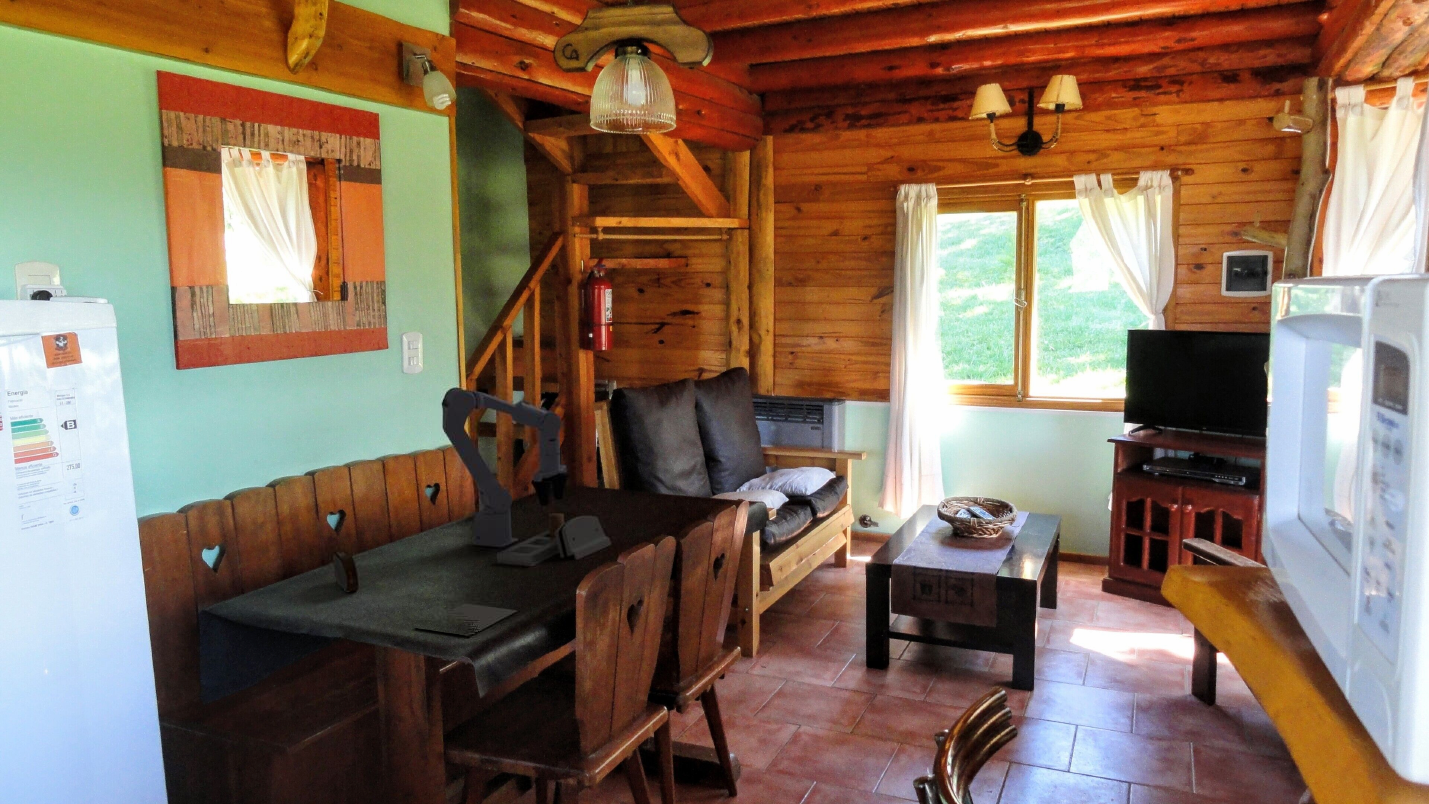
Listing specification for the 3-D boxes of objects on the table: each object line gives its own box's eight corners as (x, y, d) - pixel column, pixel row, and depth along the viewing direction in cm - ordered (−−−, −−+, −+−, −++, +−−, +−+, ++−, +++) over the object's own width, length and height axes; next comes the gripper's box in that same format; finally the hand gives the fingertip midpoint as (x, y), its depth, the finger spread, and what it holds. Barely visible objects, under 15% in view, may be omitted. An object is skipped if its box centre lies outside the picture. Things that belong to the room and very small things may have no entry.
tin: (360, 594, 225) (358, 558, 224) (346, 596, 223) (343, 560, 222) (346, 578, 237) (344, 544, 236) (332, 581, 236) (330, 546, 235)
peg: (547, 545, 264) (545, 516, 263) (554, 541, 268) (553, 512, 267) (560, 546, 263) (558, 517, 262) (567, 542, 266) (566, 513, 265)
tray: (497, 563, 248) (496, 553, 247) (550, 537, 272) (550, 529, 271) (531, 566, 244) (531, 556, 244) (582, 540, 268) (582, 531, 268)
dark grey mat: (376, 626, 204) (376, 622, 204) (454, 591, 226) (454, 588, 226) (468, 639, 194) (468, 636, 194) (539, 601, 217) (539, 598, 217)
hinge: (576, 559, 249) (563, 522, 250) (562, 564, 251) (549, 526, 252) (612, 543, 264) (600, 508, 264) (598, 548, 266) (587, 513, 267)
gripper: (548, 459, 264) (550, 508, 266) (575, 450, 277) (576, 497, 279) (525, 458, 267) (528, 507, 268) (553, 449, 280) (555, 496, 282)
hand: (551, 502), depth 274 cm, fingers open, 7 cm apart
